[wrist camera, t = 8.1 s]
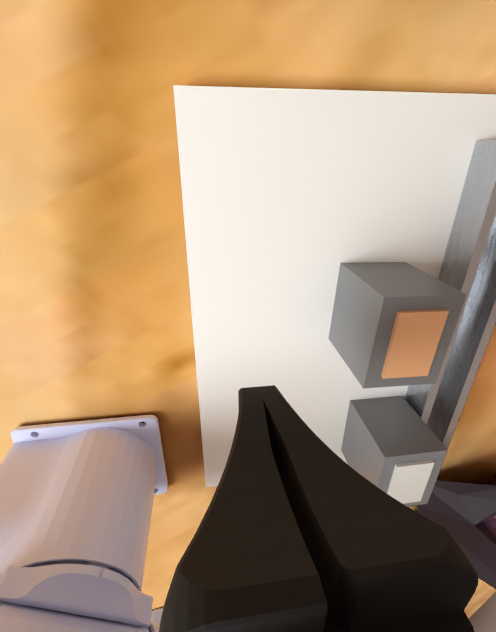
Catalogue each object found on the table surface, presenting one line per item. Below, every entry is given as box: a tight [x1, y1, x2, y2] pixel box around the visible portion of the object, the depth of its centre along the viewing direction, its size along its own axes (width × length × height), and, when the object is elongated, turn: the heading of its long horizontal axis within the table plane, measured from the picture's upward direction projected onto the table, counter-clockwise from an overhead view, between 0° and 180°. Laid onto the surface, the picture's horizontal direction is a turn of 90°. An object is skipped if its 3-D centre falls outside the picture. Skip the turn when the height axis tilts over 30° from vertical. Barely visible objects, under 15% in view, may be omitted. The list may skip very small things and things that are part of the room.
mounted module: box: [341, 396, 448, 506], centre depth 23 cm, size 4×5×5 cm
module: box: [328, 262, 466, 388], centre depth 18 cm, size 4×5×5 cm
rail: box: [405, 140, 496, 449], centre depth 21 cm, size 3×22×2 cm, turn 0°
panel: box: [173, 85, 496, 487], centre depth 22 cm, size 18×26×1 cm
